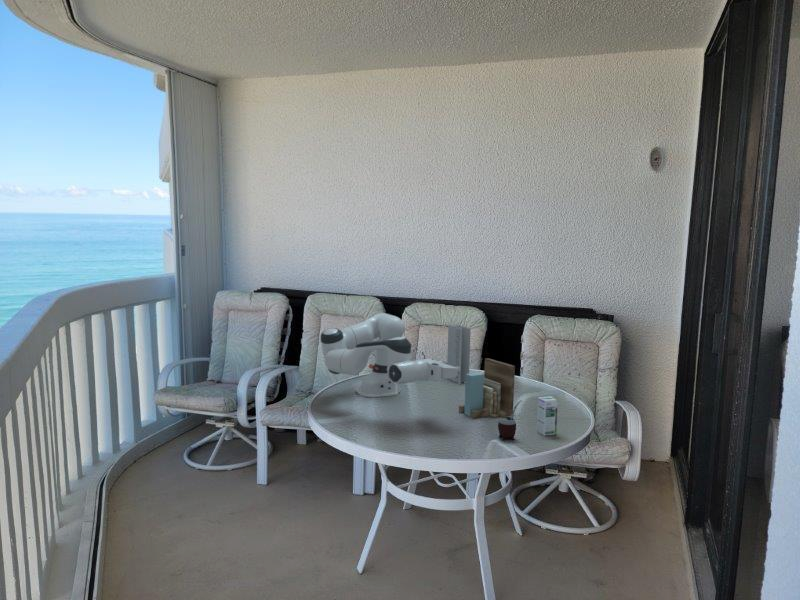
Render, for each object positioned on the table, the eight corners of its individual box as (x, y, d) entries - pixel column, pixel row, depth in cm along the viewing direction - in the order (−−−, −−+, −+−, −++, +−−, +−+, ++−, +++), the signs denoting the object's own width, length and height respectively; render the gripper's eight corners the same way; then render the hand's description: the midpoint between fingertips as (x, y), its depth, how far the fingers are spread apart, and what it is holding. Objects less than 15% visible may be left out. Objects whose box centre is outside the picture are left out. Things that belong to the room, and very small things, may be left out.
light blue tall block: (470, 416, 252) (471, 376, 250) (464, 413, 255) (465, 374, 253) (482, 414, 255) (483, 374, 253) (476, 411, 259) (478, 372, 257)
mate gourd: (494, 439, 223) (495, 401, 222) (502, 433, 230) (504, 396, 228) (512, 443, 219) (514, 404, 218) (520, 437, 226) (522, 400, 224)
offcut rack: (479, 421, 245) (481, 370, 243) (454, 409, 261) (455, 362, 258) (512, 414, 255) (514, 365, 253) (486, 404, 271) (488, 358, 268)
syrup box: (543, 436, 228) (545, 400, 226) (536, 431, 234) (537, 396, 232) (556, 435, 230) (558, 399, 228) (548, 430, 235) (550, 395, 234)
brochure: (446, 378, 319) (448, 325, 316) (455, 377, 322) (457, 324, 318) (459, 384, 306) (461, 328, 303) (468, 383, 309) (470, 328, 306)
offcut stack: (490, 413, 252) (491, 384, 251) (472, 406, 263) (473, 378, 262) (499, 412, 255) (500, 383, 254) (480, 404, 266) (481, 377, 265)
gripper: (412, 371, 248) (438, 368, 255) (440, 382, 231) (467, 378, 238) (412, 357, 247) (439, 354, 255) (440, 366, 230) (468, 363, 237)
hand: (453, 366), depth 246 cm, fingers open, 8 cm apart
